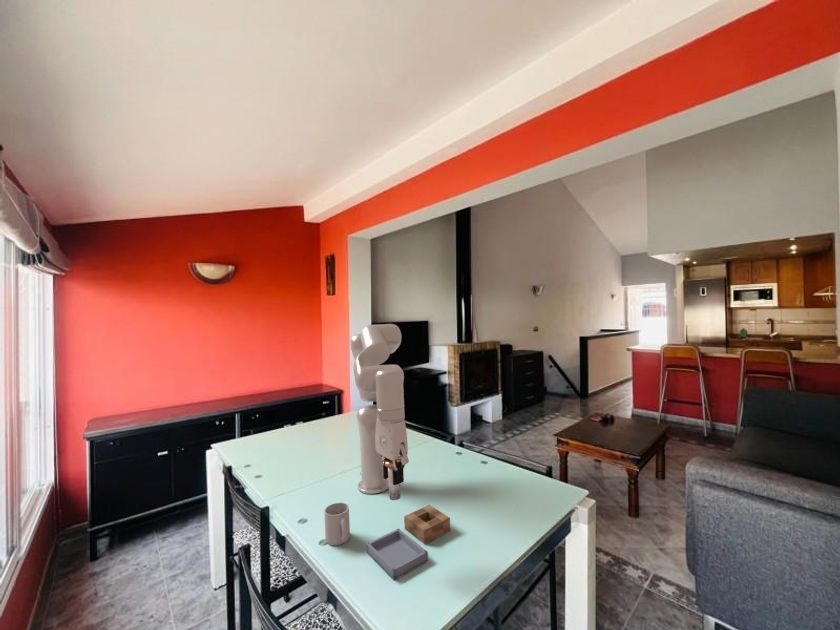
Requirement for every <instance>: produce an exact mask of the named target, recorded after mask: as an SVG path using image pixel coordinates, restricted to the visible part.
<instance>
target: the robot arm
mask: <svg viewBox="0 0 840 630" xmlns="http://www.w3.org/2000/svg"><path fill="white" fill-rule="evenodd" d="M360 331H361V332H360V333H359V334H354V335H353V336H352V337H351V339H350V350H351V353H352V356H353V359H354V363H353V376H354V381H355V386H356V388H357V390H358V391H359V396H360V397H359V398H360V400H361V401H363V402H366V403H367V402H368V403H369V402H371V403H372V402H376V404H370V405H369V404H368V405H364V406H361V408H359V409H358V411H357V413H356V421H357V427H358V432H359V444H360V445H359V446H360V473H359V475H360V476H361V480H360V482H359V483H358V484H357V489H358V491H359V492H360V493H363V494H367V495H371V494H372V495H374V494H375V495H376V494H380V493H383V492H385V491H387V490H389V481H388V467H386V466H385V460H387V459H390V460H392V461H393V467H394V470H392V474H393V485H397V484H400V485H401V484H402V483H404V480H405V479H404V477H405V476H404V469H405V465H406V464H408V463H409V462H410V460H409V457H408V453H409V448H408V447H409V446H408V445H409V444H408V443H409V442H408V434H407V425H406V423H405V418H406V417H405V398H404V395H405V393H404V392H405V391H404V380H405V375H404V373H405V372H404V371H403V369H402V368H401V367H400V365H398V364H383V363H385V362H386V361H387V360H388V359H389V357H390V354H393V353H395V352H396V350H397V349H398V348H399V347H400V345H401V343H402V332H401V330H400V327H399V326H398V325H396V324H393V323H385V324H384V323H383V324H369V325H367V326H365V327H363V328H362V330H360ZM399 459H400V462H398V463H397V461H396V460H399Z"/></svg>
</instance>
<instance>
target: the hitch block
mask: <svg viewBox="0 0 840 630" xmlns="http://www.w3.org/2000/svg"><path fill="white" fill-rule="evenodd" d="M403 518H404V520H403V521H404V530H406V531H407V532H408V533H409V534H411V535H412V536H413V537H414V538H416V539H417V540H418V541H420V542H421V543H422V544H423V545H426V544H428V543H430V542H432V541H435V540H436V539H438V538H439V537H442V536H443V535H445V534H447V533H449V532H451V518H450V516H448V515H446V514H445V513H443V512H442V511H440V510H439V509H437V508H436V507H434V506H432V505H431V504H428V505H426V506H423V507H421V508H419V509H416V510H415V511H412V512H410V513H408V514H405V515H404V516H403Z"/></svg>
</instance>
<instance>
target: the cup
mask: <svg viewBox="0 0 840 630" xmlns="http://www.w3.org/2000/svg"><path fill="white" fill-rule="evenodd" d="M323 513H324V534H325V535H324V537H325V538H324V539H325V542H326V544H328V545H329V546H333V547H334V546H335V547H336V546H340V545H341V546H342V545H343V544H345V543H346V542H348V540H349V539H350V537H351V529H350V528H351V527H350V526H351V525H350V523H351V522H350V506H349V504H348V503H345V502H335V503H331V504H329V505H327V506H326V507H325V508H324V512H323Z"/></svg>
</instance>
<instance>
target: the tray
mask: <svg viewBox="0 0 840 630" xmlns="http://www.w3.org/2000/svg"><path fill="white" fill-rule="evenodd" d="M365 545H366V546H365V548H366V549H365V550H366V554H367V555H368V556H369V557H370V558H371V559H372V560H374V561H375V563H376V564H377V565H378V566H379V567H380V568H381V570H383V571H384V572H385V573H386V575H387V576H389V578H391V579H392V580H393V581H395V580H397V579H399V578H400V577H402V576H404V575H405V574H408V573H410V572H411V571H413V570H414V569H417V567H421V566H422V565H423V564H425V563H427V562H429V552H428V551H427V550H426V549H425V548H423V547H422V546H421V545H420V544H419V543H417V542H416V541H415V540H413V539H412V538H411V537H410V536H409V535H408V534H406V533H405V532H404V531H403V530H401V529H400V528H397V529H395V530H393V531H390V532H388V533H387V534H384V535H382V536H380V537H377V538H375V539H373V540H372V541H369V542H367V543H366V544H365Z"/></svg>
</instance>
